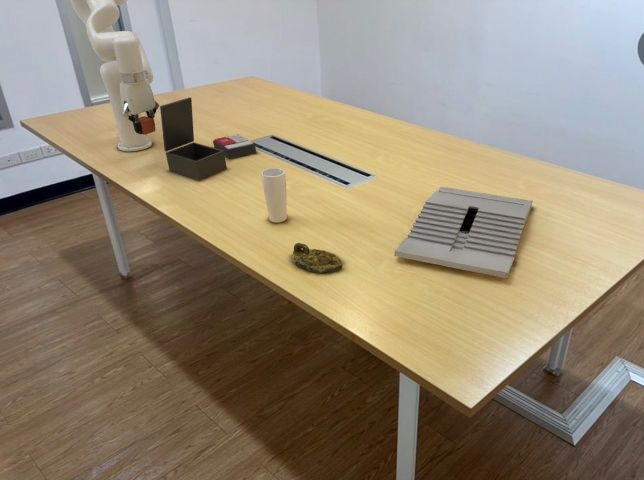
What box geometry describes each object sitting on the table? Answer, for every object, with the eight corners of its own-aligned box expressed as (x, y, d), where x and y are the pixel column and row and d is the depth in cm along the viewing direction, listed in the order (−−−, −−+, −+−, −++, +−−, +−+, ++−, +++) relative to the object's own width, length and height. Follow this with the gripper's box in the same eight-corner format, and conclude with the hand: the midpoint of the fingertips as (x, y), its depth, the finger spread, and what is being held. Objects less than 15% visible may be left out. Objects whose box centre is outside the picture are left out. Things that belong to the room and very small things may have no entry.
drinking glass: (267, 214, 168) (262, 167, 159) (290, 213, 168) (285, 167, 160) (265, 225, 162) (260, 177, 154) (289, 224, 163) (284, 176, 154)
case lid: (191, 97, 190) (189, 97, 190) (161, 106, 181) (159, 106, 182) (194, 141, 200) (192, 140, 201) (165, 151, 191) (164, 150, 192)
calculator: (238, 133, 218) (255, 141, 208) (240, 143, 220) (256, 153, 210) (212, 138, 213) (227, 147, 202) (214, 149, 215) (229, 159, 205)
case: (227, 168, 197) (224, 150, 194) (199, 180, 189) (196, 161, 185) (196, 159, 204) (193, 142, 201) (169, 171, 196) (165, 152, 192)
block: (136, 132, 191) (133, 119, 189) (147, 128, 194) (144, 115, 192) (144, 135, 189) (141, 122, 187) (155, 131, 192) (152, 118, 190)
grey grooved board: (437, 193, 180) (438, 181, 178) (528, 206, 172) (530, 193, 170) (398, 262, 145) (399, 248, 142) (511, 281, 137) (513, 267, 135)
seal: (350, 264, 146) (301, 251, 151) (351, 248, 144) (301, 235, 149) (333, 278, 138) (282, 264, 144) (334, 261, 136) (282, 247, 141)
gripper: (147, 69, 189) (158, 122, 199) (103, 80, 177) (117, 136, 187) (162, 73, 185) (172, 126, 196) (118, 84, 174) (131, 140, 184)
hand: (145, 130), depth 192 cm, fingers closed on block, 4 cm apart
